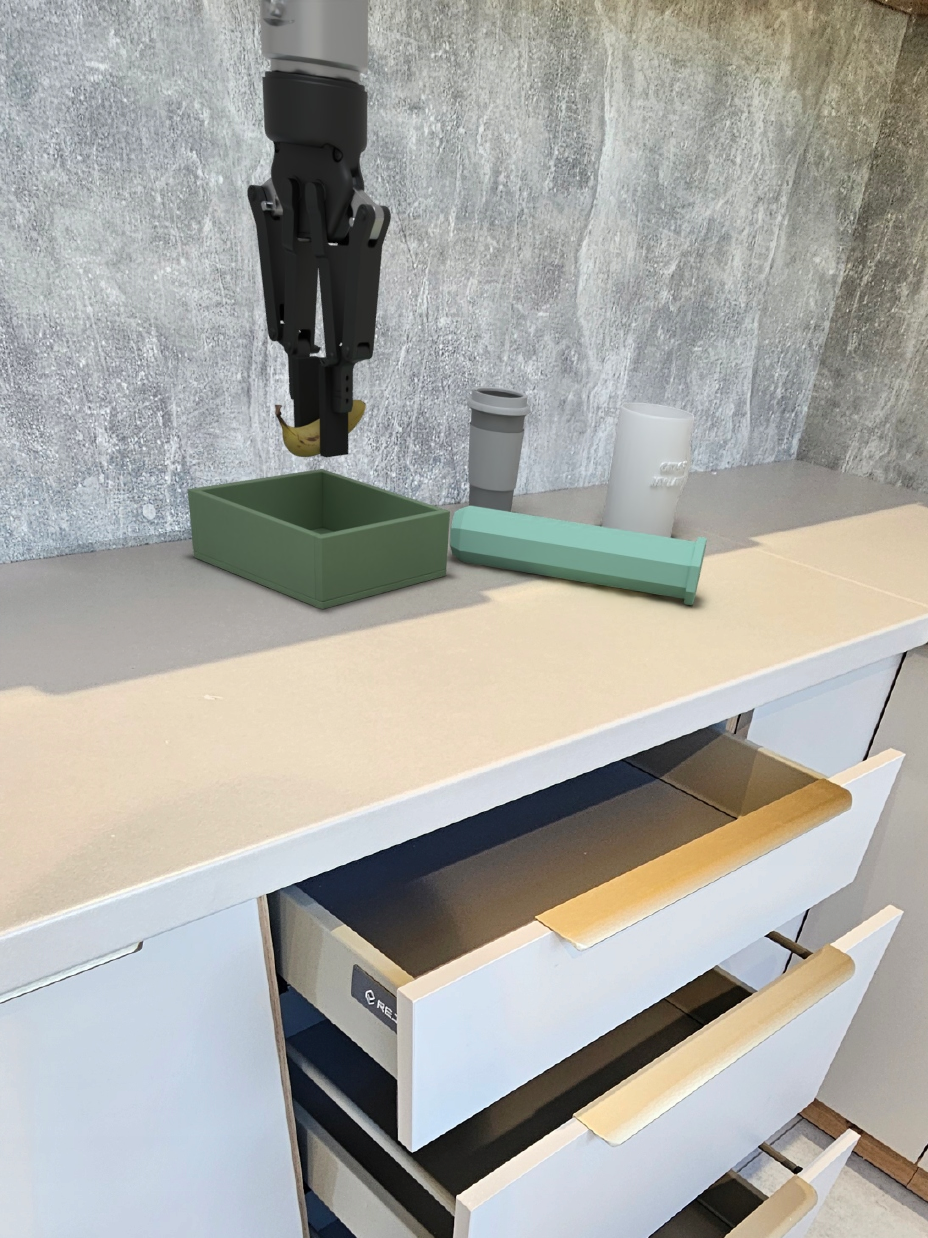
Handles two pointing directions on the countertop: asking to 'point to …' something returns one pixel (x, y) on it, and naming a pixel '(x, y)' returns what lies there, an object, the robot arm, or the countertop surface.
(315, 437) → the banana
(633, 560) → the container
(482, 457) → the cup
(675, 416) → the mug
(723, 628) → the countertop surface
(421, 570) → the bin
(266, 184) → the robot arm
